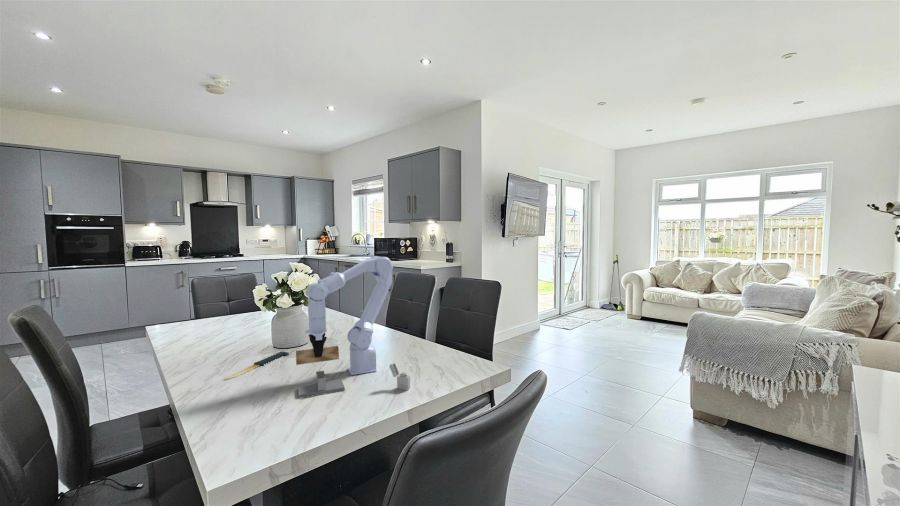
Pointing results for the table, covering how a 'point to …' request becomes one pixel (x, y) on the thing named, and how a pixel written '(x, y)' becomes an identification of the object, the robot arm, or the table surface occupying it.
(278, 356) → the knife
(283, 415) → the table surface
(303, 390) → the stand
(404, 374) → the lighter
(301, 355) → the bar
